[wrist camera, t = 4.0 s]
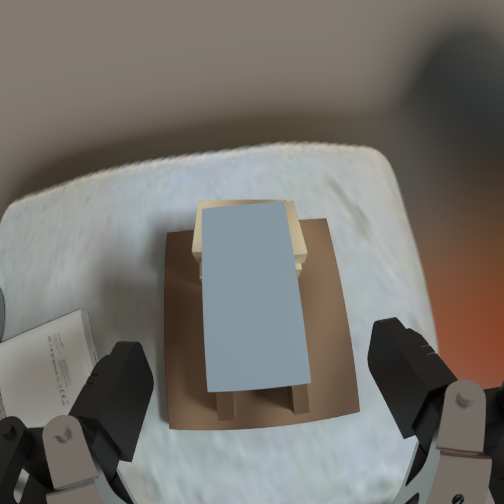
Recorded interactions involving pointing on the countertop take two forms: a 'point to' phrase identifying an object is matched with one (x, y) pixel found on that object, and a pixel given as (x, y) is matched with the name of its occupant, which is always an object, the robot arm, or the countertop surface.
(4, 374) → the external hard drive
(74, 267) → the countertop surface
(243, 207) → the slate-blue block
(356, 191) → the countertop surface
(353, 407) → the walnut stand
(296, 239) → the birch offcut stack
